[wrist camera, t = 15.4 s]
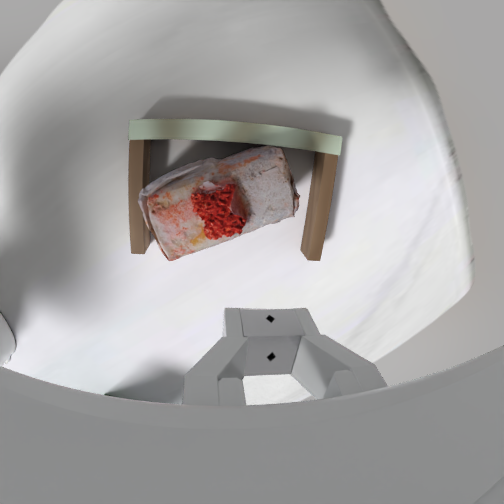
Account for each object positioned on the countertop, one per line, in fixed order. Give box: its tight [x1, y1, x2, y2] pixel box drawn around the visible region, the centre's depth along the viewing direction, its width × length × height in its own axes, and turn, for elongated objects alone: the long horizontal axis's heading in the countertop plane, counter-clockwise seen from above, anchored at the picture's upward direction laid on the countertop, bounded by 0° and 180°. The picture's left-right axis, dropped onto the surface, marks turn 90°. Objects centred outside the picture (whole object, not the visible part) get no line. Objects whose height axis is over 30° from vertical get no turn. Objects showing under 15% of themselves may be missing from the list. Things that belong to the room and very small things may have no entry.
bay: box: [128, 119, 343, 261], centre depth 28 cm, size 21×14×4 cm, turn 85°
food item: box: [138, 145, 300, 261], centre depth 25 cm, size 14×8×10 cm, turn 110°
